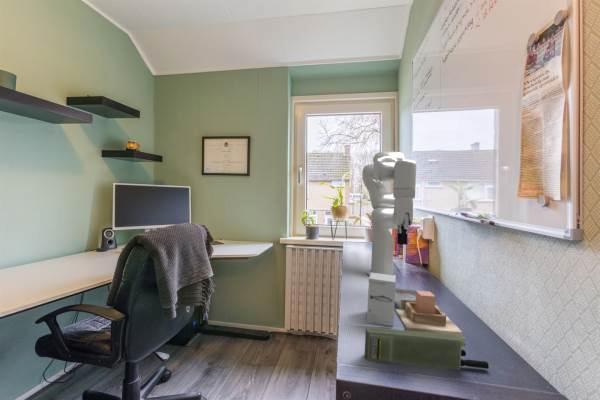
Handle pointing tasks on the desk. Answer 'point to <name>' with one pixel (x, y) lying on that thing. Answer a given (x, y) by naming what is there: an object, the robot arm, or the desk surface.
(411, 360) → the handheld radio
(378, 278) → the supplement box
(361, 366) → the desk surface
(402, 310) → the socket board
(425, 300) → the block
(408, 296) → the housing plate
